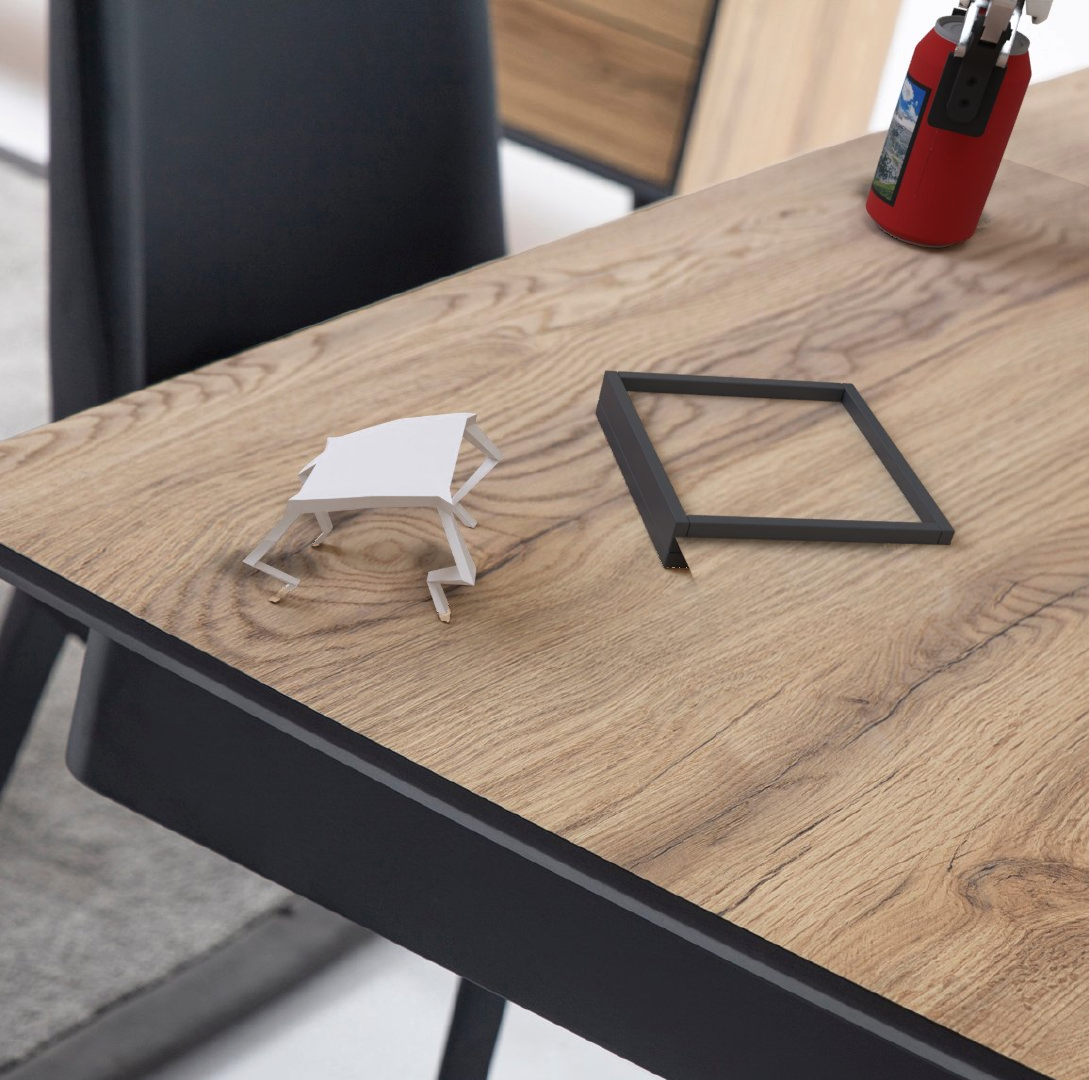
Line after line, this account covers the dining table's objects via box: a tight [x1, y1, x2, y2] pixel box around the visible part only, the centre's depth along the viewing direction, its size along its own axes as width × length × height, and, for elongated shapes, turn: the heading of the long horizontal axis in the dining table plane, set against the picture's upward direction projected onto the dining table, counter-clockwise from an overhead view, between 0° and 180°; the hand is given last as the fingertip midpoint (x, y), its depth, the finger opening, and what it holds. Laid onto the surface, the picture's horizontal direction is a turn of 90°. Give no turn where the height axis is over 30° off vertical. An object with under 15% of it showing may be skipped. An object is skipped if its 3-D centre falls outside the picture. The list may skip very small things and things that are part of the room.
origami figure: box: [241, 411, 505, 615], centre depth 62 cm, size 12×8×5 cm
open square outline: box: [594, 370, 956, 569], centre depth 71 cm, size 12×12×2 cm
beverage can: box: [865, 15, 1033, 249], centre depth 96 cm, size 7×7×12 cm
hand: (955, 104), depth 95 cm, fingers open, 8 cm apart
